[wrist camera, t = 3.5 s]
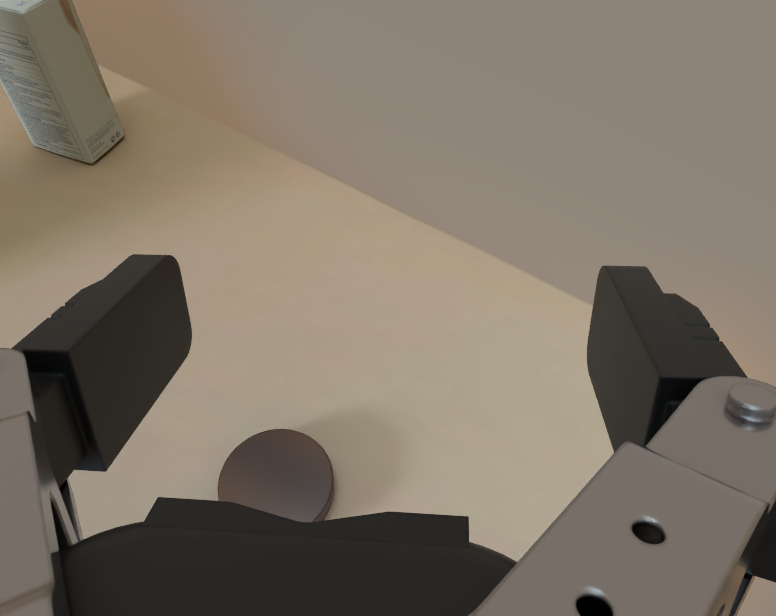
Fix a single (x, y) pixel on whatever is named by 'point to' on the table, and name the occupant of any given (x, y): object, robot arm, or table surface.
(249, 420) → the table surface
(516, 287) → the table surface
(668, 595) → the robot arm
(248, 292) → the table surface
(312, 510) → the wooden spoon
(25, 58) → the cosmetic box
